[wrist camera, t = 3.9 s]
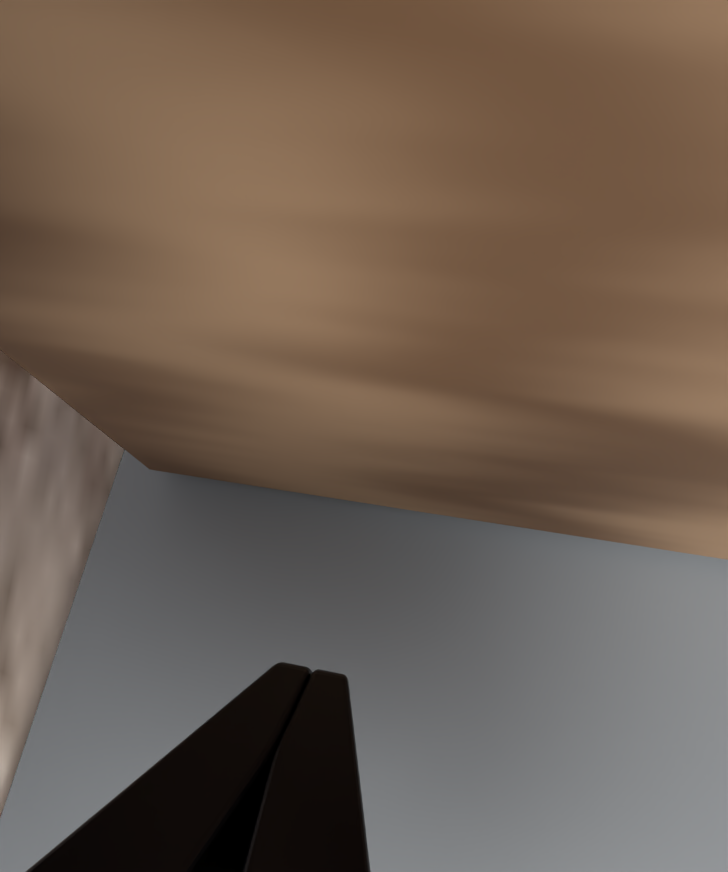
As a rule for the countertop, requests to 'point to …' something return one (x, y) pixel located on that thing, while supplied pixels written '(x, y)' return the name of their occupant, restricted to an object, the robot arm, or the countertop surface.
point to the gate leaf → (384, 249)
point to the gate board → (400, 675)
